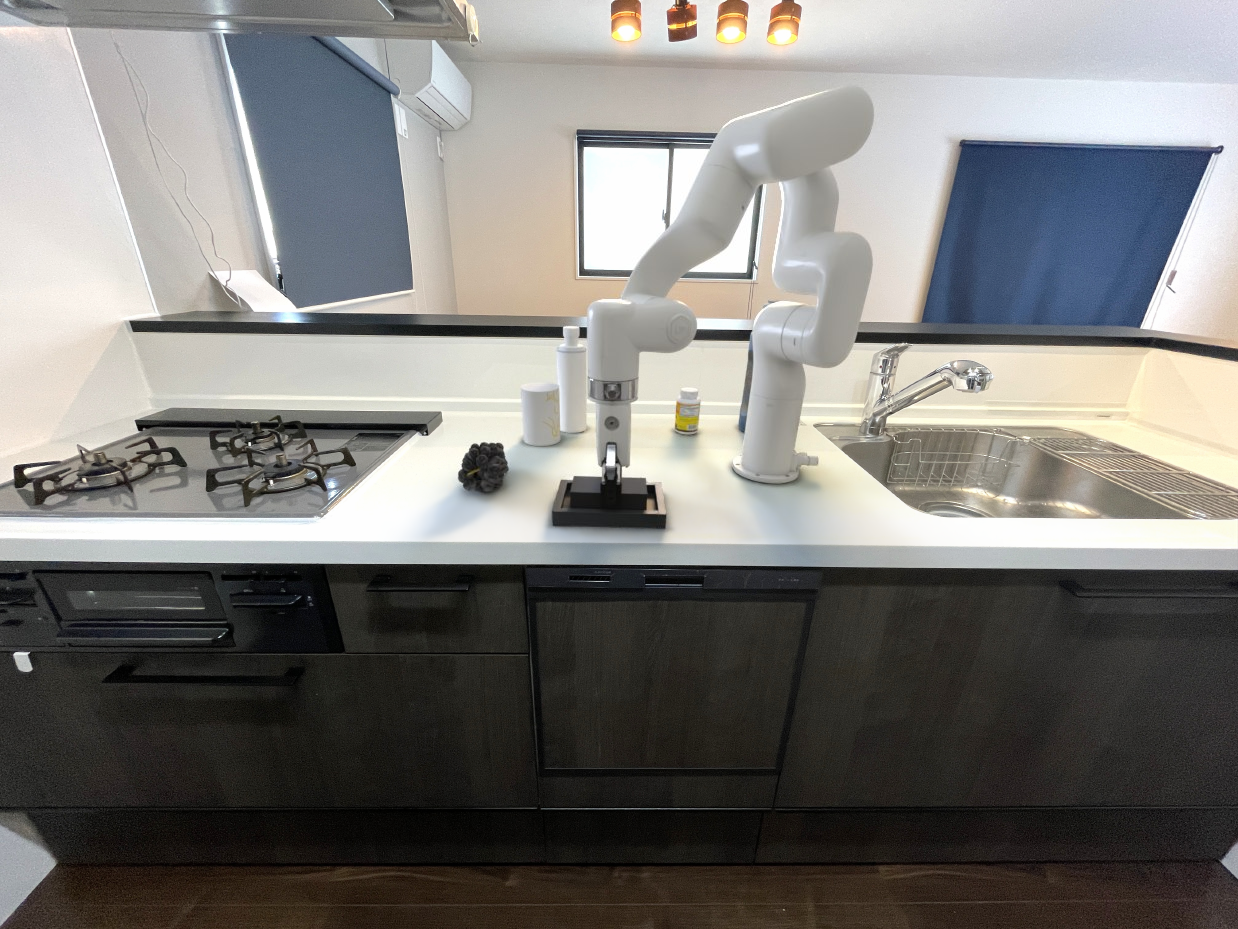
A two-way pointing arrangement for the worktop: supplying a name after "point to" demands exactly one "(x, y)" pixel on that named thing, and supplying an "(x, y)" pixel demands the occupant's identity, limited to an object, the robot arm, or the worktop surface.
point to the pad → (588, 493)
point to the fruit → (483, 467)
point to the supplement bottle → (687, 411)
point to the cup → (541, 413)
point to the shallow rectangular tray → (610, 511)
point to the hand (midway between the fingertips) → (611, 491)
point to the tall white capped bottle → (572, 382)
